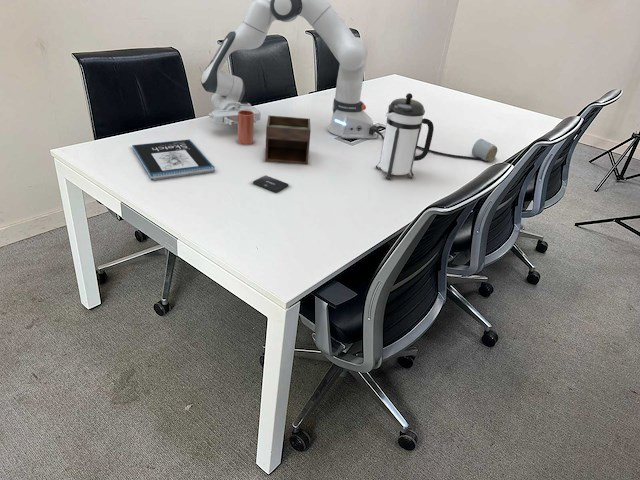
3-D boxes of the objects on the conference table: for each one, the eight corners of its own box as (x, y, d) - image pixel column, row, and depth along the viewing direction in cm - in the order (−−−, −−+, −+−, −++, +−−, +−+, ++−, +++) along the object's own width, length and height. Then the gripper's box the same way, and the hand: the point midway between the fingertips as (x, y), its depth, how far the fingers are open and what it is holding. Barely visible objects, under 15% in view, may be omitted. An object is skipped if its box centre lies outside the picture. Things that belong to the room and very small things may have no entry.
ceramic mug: (485, 163, 193) (491, 146, 188) (469, 156, 198) (474, 139, 194) (499, 159, 199) (505, 142, 195) (483, 152, 204) (488, 136, 200)
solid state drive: (276, 192, 152) (276, 190, 152) (252, 183, 157) (252, 181, 156) (288, 185, 158) (288, 183, 157) (265, 176, 162) (265, 175, 161)
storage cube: (307, 151, 186) (309, 118, 178) (307, 164, 175) (310, 130, 167) (267, 148, 184) (268, 115, 177) (265, 161, 173) (266, 126, 166)
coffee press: (407, 186, 167) (425, 103, 150) (367, 173, 173) (381, 92, 157) (424, 171, 179) (442, 93, 163) (387, 160, 186) (401, 84, 170)
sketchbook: (189, 142, 182) (189, 137, 181) (215, 173, 161) (215, 167, 160) (132, 148, 172) (131, 142, 171) (152, 181, 151) (151, 175, 150)
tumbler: (254, 139, 191) (254, 111, 185) (252, 145, 186) (253, 115, 179) (238, 138, 190) (238, 109, 184) (237, 144, 185) (236, 114, 179)
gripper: (206, 105, 190) (218, 116, 180) (252, 102, 199) (266, 112, 189) (207, 121, 193) (218, 132, 183) (252, 117, 203) (265, 127, 193)
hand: (243, 122), depth 186 cm, fingers open, 8 cm apart
